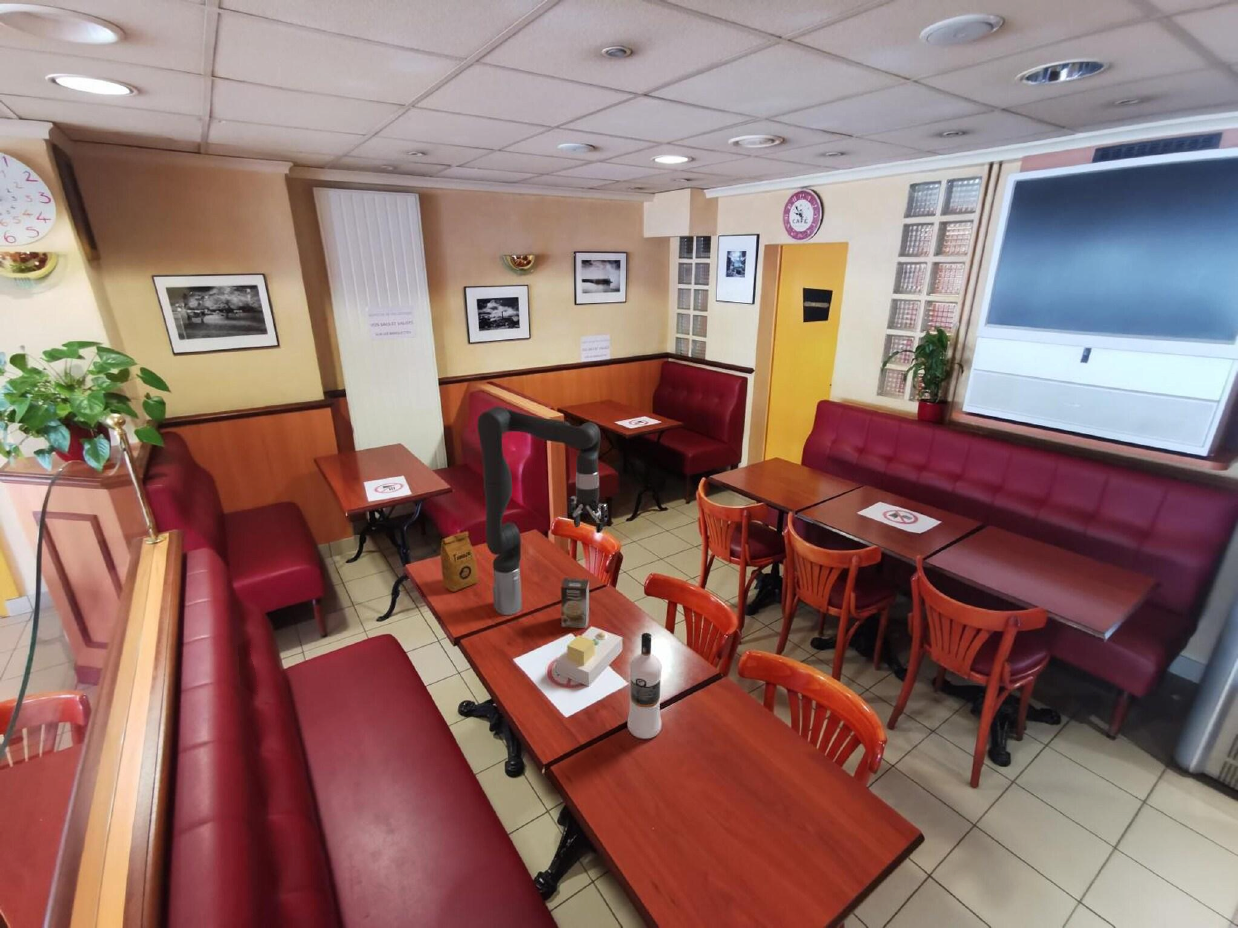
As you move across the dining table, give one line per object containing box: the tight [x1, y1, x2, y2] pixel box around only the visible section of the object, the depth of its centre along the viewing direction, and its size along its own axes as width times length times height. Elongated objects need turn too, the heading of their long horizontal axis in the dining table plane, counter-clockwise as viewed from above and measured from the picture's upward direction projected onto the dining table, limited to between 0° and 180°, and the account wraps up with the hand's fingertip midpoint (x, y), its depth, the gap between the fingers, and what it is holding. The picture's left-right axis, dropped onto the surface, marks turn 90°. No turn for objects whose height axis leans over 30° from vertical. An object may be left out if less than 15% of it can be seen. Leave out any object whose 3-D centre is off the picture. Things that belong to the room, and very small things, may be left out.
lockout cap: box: [566, 634, 595, 665], centre depth 180 cm, size 6×6×5 cm
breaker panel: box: [555, 626, 623, 687], centre depth 186 cm, size 12×20×6 cm, turn 150°
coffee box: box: [560, 577, 590, 629], centre depth 204 cm, size 9×6×16 cm
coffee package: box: [440, 531, 479, 593], centre depth 227 cm, size 10×12×22 cm
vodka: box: [627, 632, 662, 740], centre depth 155 cm, size 9×9×30 cm
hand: (588, 529), depth 195 cm, fingers open, 8 cm apart
